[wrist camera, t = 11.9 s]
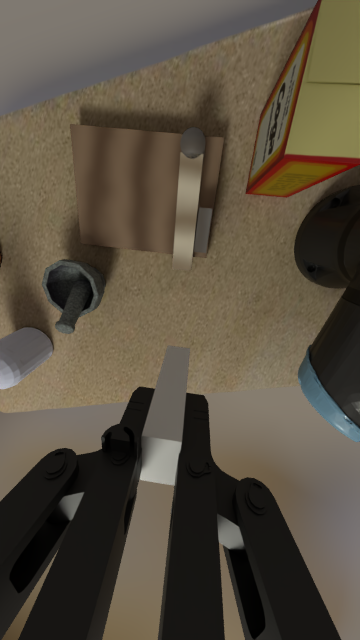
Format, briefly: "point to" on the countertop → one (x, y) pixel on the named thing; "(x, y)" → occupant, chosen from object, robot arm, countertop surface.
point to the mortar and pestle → (72, 291)
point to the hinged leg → (188, 197)
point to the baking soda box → (312, 107)
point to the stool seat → (137, 188)
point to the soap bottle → (22, 354)
